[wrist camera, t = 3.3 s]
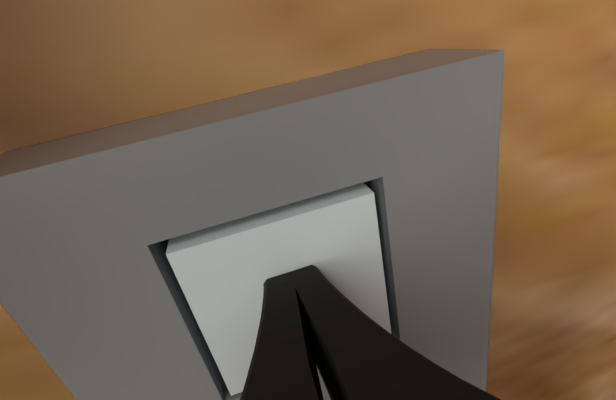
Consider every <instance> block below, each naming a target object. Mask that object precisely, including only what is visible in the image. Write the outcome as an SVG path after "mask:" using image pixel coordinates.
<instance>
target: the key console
mask: <svg viewBox="0 0 616 400" xmlns="http://www.w3.org/2000/svg"><path fill="white" fill-rule="evenodd" d="M503 61H504V50H462V49H428V50H424V51H420V52H416V53H412V54H407V55H403V56H399V57H395V58H391V59H387V60H383V61H379V62H374V63H370V64H366V65H362V66H358V67H354V68H350V69H346V70H341V71H337V72H333V73H329V74H325V75H321V76H317V77H313V78H309V79H304V80H300V81H296V82H292V83H288V84H284V85H280V86H276V87H271V88H267V89H263V90H259V91H255V92H251V93H247V94H243V95H238V96H234V97H230V98H226V99H222V100H218V101H214V102H210V103H206V104H201V105H197V106H193V107H189V108H185V109H181V110H177V111H173V112H168V113H164V114H160V115H156V116H152V117H148V118H144V119H140V120H135V121H131V122H127V123H123V124H119V125H115V126H111V127H107V128H102V129H98V130H94V131H90V132H86V133H82V134H78V135H74V136H70V137H65V138H61V139H57V140H53V141H49V142H45V143H41V144H37V145H32V146H28V147H24V148H20V149H16V150H12V151H8V152H5V153H3V154H1V155H0V304H1V305H2V306H3V307H4V309H5V310H6V311H7V312H8V314H9V315H10V316H11V318H12V319H13V320H14V321H15V323H16V324H17V325H18V326H19V328H20V329H21V330H22V332H23V333H24V334H25V335H26V337H27V338H28V339H29V341H30V342H31V343H32V344H33V346H34V347H35V348H36V349H37V351H38V352H39V353H40V355H41V356H42V357H43V358H44V360H45V361H46V362H47V363H48V365H49V366H50V367H51V369H52V370H53V371H54V372H55V374H56V375H57V376H58V377H59V379H60V380H61V381H62V383H63V384H64V385H65V386H66V388H67V389H68V390H69V391H70V393H71V394H72V395H73V397H74V398H75V399H76V400H240V398H241V395H242V392H240V393H237V394H234V395H232V396H231V394H230V392H229V390H228V388H227V386H226V384H225V381H224V379H223V377H222V375H221V373H220V371H219V369H218V366H217V364H216V362H215V360H214V358H213V356H212V353H211V351H210V349H209V347H208V345H207V343H206V340H205V338H204V336H203V334H202V332H201V330H200V328H199V325H198V323H197V321H196V319H195V317H194V315H193V312H192V310H191V308H190V306H189V304H188V302H187V300H186V297H185V295H184V293H183V291H182V289H181V287H180V284H179V282H178V280H177V278H176V276H175V274H174V271H173V269H172V267H171V265H170V263H169V261H168V259H167V256H166V251H167V246H168V242H169V239H171V238H174V237H178V236H181V235H185V234H188V233H192V232H195V231H198V230H202V229H205V228H209V227H212V226H216V225H219V224H222V223H226V222H229V221H233V220H236V219H240V218H243V217H246V216H250V215H253V214H257V213H260V212H264V211H267V210H270V209H274V208H277V207H281V206H284V205H288V204H291V203H294V202H298V201H301V200H305V199H308V198H312V197H315V196H318V195H322V194H325V193H329V192H332V191H336V190H339V189H343V188H346V187H349V186H353V185H356V184H360V183H364V184H365V185H366V186H367V187H368V188H370V189H371V190H372V191H373V192H374V196H375V204H376V212H377V220H378V229H379V237H380V245H381V253H382V261H383V269H384V277H385V285H386V293H387V302H388V310H389V318H390V326H391V334H392V335H393V336H395V337H396V338H397V339H399V340H400V341H402V342H403V343H405V344H406V345H407V346H409V347H410V348H412V349H413V350H415V351H416V352H418V353H420V354H421V355H423V356H424V357H426V358H427V359H429V360H430V361H432V362H434V363H435V364H437V365H439V366H440V367H442V368H444V369H445V370H447V371H449V372H450V373H452V374H454V375H455V376H457V377H459V378H461V379H463V380H464V381H466V382H468V383H470V384H472V385H474V386H476V387H478V388H480V389H481V390H483V391H485V392H486V384H487V365H488V346H489V327H490V308H491V289H492V270H493V251H494V232H495V213H496V194H497V175H498V156H499V137H500V118H501V99H502V80H503ZM316 366H317V365H316ZM317 371H318V375H319V380H320V385H321V389H322V394H323V398H324V400H331V398H330V396H329V394H328V391H327V389H326V386H325V384H324V382H323V379H322V377H321V374H320V372H319V370H318V367H317Z"/></svg>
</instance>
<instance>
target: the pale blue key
mask: <svg viewBox="0 0 616 400" xmlns="http://www.w3.org/2000/svg"><path fill="white" fill-rule="evenodd" d="M166 256H167V259H168V261H169V263H170V265H171V267H172V269H173V271H174V274H175V276H176V278H177V280H178V282H179V284H180V287H181V289H182V291H183V293H184V295H185V297H186V300H187V302H188V304H189V306H190V308H191V310H192V312H193V315H194V317H195V319H196V321H197V323H198V325H199V328H200V330H201V332H202V334H203V336H204V338H205V340H206V343H207V345H208V347H209V349H210V351H211V353H212V356H213V358H214V360H215V362H216V364H217V366H218V369H219V371H220V373H221V375H222V377H223V379H224V381H225V384H226V386H227V388H228V390H229V392H230V394H231V396H232V395H234V394H237V393H240V392H242V391H243V388H244V385H245V382H246V378H247V374H248V370H249V367H250V363H251V359H252V356H253V352H254V348H255V343H256V338H257V333H258V328H259V323H260V318H261V311H262V304H263V291H264V286H263V284H264V282H265V281H266V279H269V278H272V277H275V276H278V275H281V274H284V273H287V272H291V271H294V270H297V269H300V268H303V267H306V266H309V265H314V266H316V267H317V268H318V269H319V271H320V272H321V273H322V274H323V275H324V276H325V277H326V278H327V279H328V281H329V282H330V283H331V284H332V285H333V286H334V287H335V288H337V289H338V290H339V291H340V292H341V293H342V294H343V295H344V296H345V297H346V298H347V299H348V300H349V301H351V302H352V303H353V304H354V305H355V306H356V307H358V308H359V309H360V310H361V311H362V312H363V313H365V314H366V315H367V316H368V317H370V318H371V319H372V320H373V321H375V322H376V323H377V324H378V325H380V326H381V327H382V328H384V329H385V330H386V331H388V332H389V333H390V334H391V326H390V318H389V310H388V302H387V293H386V285H385V277H384V269H383V261H382V253H381V245H380V237H379V229H378V220H377V212H376V204H375V196H374V192H373V191H372V190H371V189H370V188H368V187H367V186H366V185H365V184H364V183H360V184H356V185H353V186H349V187H346V188H343V189H339V190H336V191H332V192H329V193H325V194H322V195H318V196H315V197H312V198H308V199H305V200H301V201H298V202H294V203H291V204H288V205H284V206H281V207H277V208H274V209H270V210H267V211H264V212H260V213H257V214H253V215H250V216H246V217H243V218H240V219H236V220H233V221H229V222H226V223H222V224H219V225H216V226H212V227H209V228H205V229H202V230H198V231H195V232H192V233H188V234H185V235H181V236H178V237H174V238H171V239H169V242H168V246H167V251H166Z"/></svg>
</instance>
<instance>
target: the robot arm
mask: <svg viewBox="0 0 616 400" xmlns="http://www.w3.org/2000/svg"><path fill="white" fill-rule="evenodd" d="M263 286H264V291H263V304H262V311H261V318H260V323H259V328H258V333H257V338H256V343H255V348H254V352H253V356H252V359H251V363H250V367H249V370H248V374H247V378H246V382H245V385H244V388H243V391H242V395H241V398H240V400H324V398H323V394H322V389H321V385H320V380H319V375H318V371H317V367H318V370H319V372H320V374H321V377H322V379H323V382H324V384H325V386H326V389H327V391H328V394H329V396H330V398H331V400H500V399H498V398H496V397H495V396H493V395H491V394H489V393H487V392H485V391H483V390H481V389H480V388H478V387H476V386H474V385H472V384H470V383H468V382H466V381H464V380H463V379H461V378H459V377H457V376H455V375H454V374H452V373H450V372H449V371H447V370H445V369H444V368H442V367H440V366H439V365H437V364H435V363H434V362H432V361H430V360H429V359H427V358H426V357H424V356H423V355H421V354H420V353H418V352H416V351H415V350H413V349H412V348H410V347H409V346H407V345H406V344H405V343H403V342H402V341H400V340H399V339H397V338H396V337H395V336H393V335H392V334H390V333H389V332H388V331H386V330H385V329H384V328H382V327H381V326H380V325H378V324H377V323H376V322H375V321H373V320H372V319H371V318H370V317H368V316H367V315H366V314H365V313H363V312H362V311H361V310H360V309H359V308H358V307H356V306H355V305H354V304H353V303H352V302H351V301H349V300H348V299H347V298H346V297H345V296H344V295H343V294H342V293H341V292H340V291H339V290H338V289H337V288H335V287H334V286H333V285H332V284H331V283H330V282H329V281H328V279H327V278H326V277H325V276H324V275H323V274H322V273H321V272H320V271H319V269H318V268H317V267H316V266H314V265H309V266H306V267H303V268H300V269H297V270H294V271H291V272H287V273H284V274H281V275H278V276H275V277H272V278H269V279H266V281H265V282H264V284H263ZM316 365H317V366H316Z"/></svg>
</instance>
